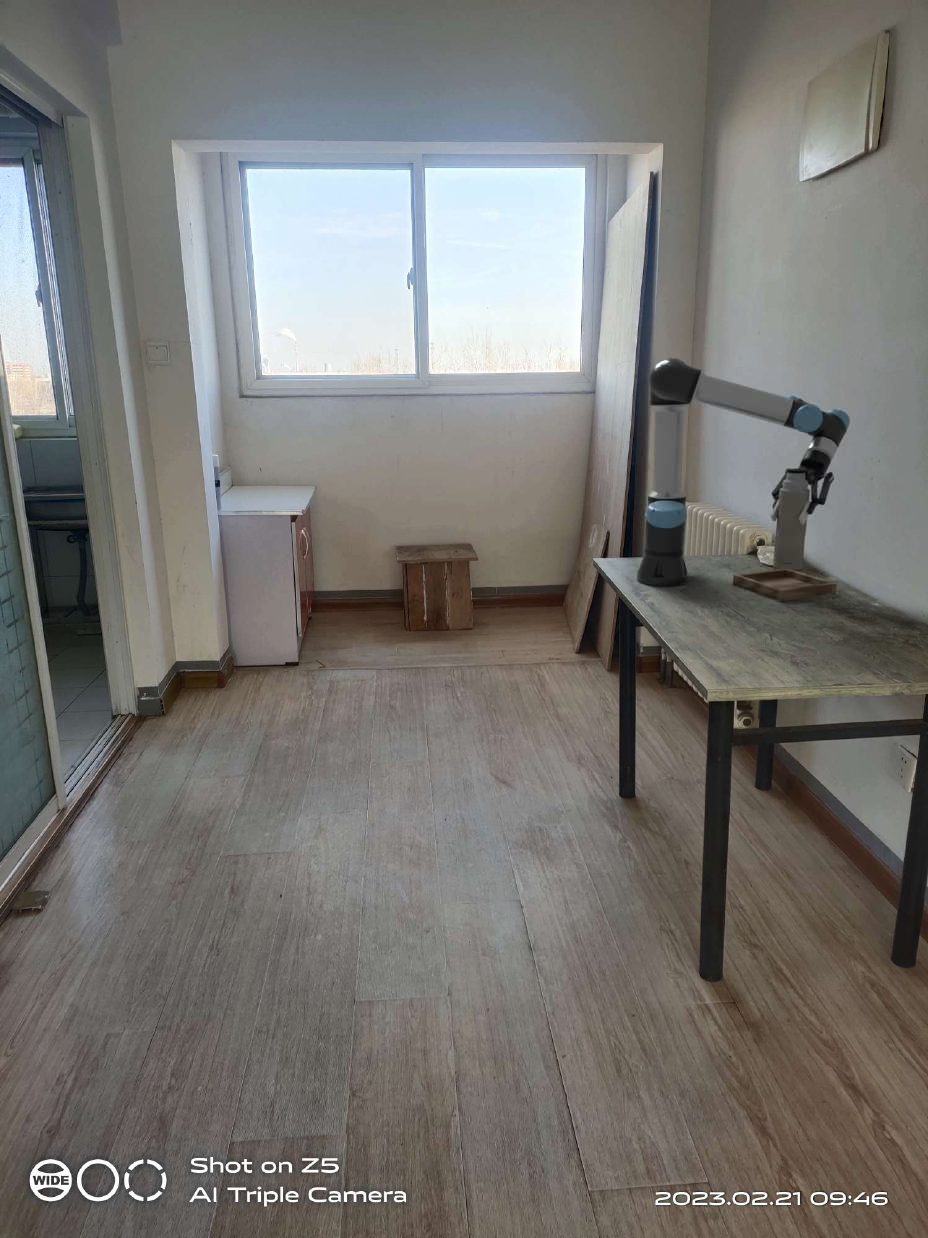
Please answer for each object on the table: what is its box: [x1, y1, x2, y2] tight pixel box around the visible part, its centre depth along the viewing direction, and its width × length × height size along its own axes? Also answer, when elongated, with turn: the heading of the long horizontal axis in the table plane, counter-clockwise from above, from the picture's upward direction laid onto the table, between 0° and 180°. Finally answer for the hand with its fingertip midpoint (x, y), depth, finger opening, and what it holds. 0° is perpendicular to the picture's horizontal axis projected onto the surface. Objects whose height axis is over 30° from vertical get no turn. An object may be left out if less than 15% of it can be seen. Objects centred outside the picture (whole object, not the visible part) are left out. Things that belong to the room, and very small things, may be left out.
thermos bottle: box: [772, 468, 811, 571], centre depth 238 cm, size 8×8×28 cm
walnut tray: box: [732, 568, 838, 603], centre depth 243 cm, size 20×20×3 cm
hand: (786, 520), depth 235 cm, fingers closed on thermos bottle, 8 cm apart
